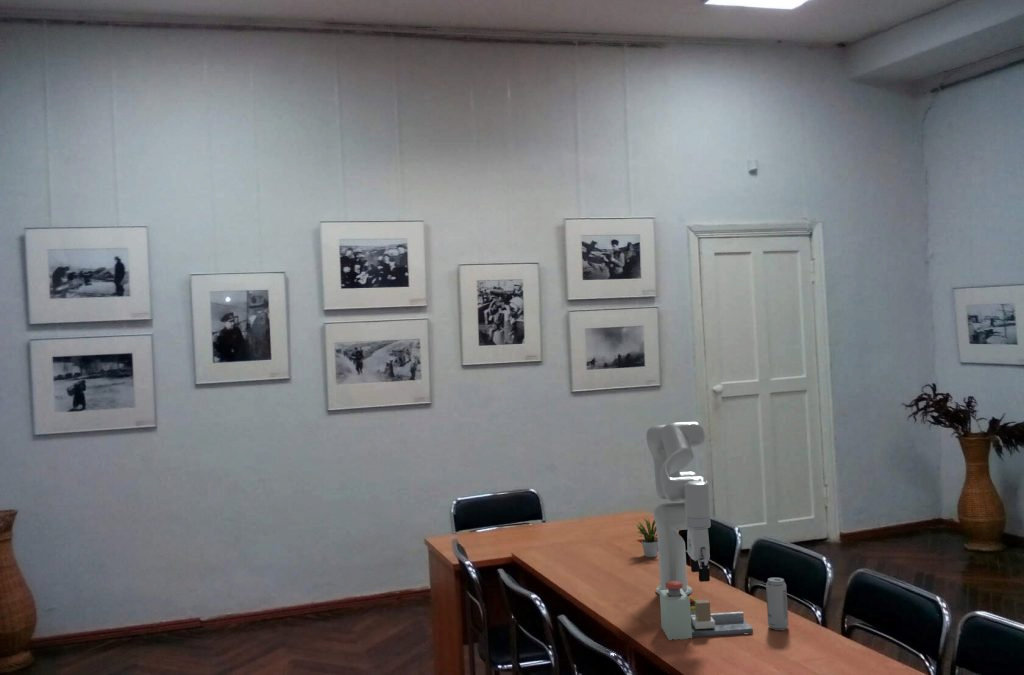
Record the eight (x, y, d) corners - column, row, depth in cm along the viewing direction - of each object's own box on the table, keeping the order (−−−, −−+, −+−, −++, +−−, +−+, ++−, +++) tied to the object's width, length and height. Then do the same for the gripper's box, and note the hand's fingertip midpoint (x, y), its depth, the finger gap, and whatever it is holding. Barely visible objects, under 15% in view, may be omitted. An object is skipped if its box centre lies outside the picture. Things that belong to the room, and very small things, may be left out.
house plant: (669, 550, 369) (667, 512, 369) (672, 559, 355) (670, 519, 355) (635, 551, 370) (633, 513, 370) (637, 559, 357) (635, 520, 357)
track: (684, 627, 273) (683, 615, 273) (744, 623, 274) (743, 611, 274) (691, 637, 264) (690, 624, 264) (753, 633, 265) (752, 620, 265)
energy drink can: (769, 624, 272) (766, 576, 272) (789, 625, 270) (786, 577, 270) (767, 630, 267) (764, 581, 267) (787, 632, 265) (785, 582, 265)
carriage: (691, 623, 271) (690, 599, 271) (711, 622, 271) (709, 598, 271) (695, 629, 266) (694, 604, 266) (715, 627, 266) (714, 603, 266)
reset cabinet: (661, 628, 274) (659, 590, 274) (683, 626, 274) (681, 588, 274) (669, 640, 263) (666, 600, 263) (691, 638, 263) (689, 599, 263)
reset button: (664, 600, 271) (663, 581, 271) (681, 599, 271) (680, 580, 271) (668, 605, 266) (667, 586, 266) (685, 604, 266) (684, 585, 266)
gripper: (679, 515, 277) (682, 568, 278) (692, 529, 260) (695, 585, 261) (702, 514, 278) (705, 567, 278) (717, 527, 260) (720, 584, 261)
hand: (700, 576), depth 269 cm, fingers open, 9 cm apart
